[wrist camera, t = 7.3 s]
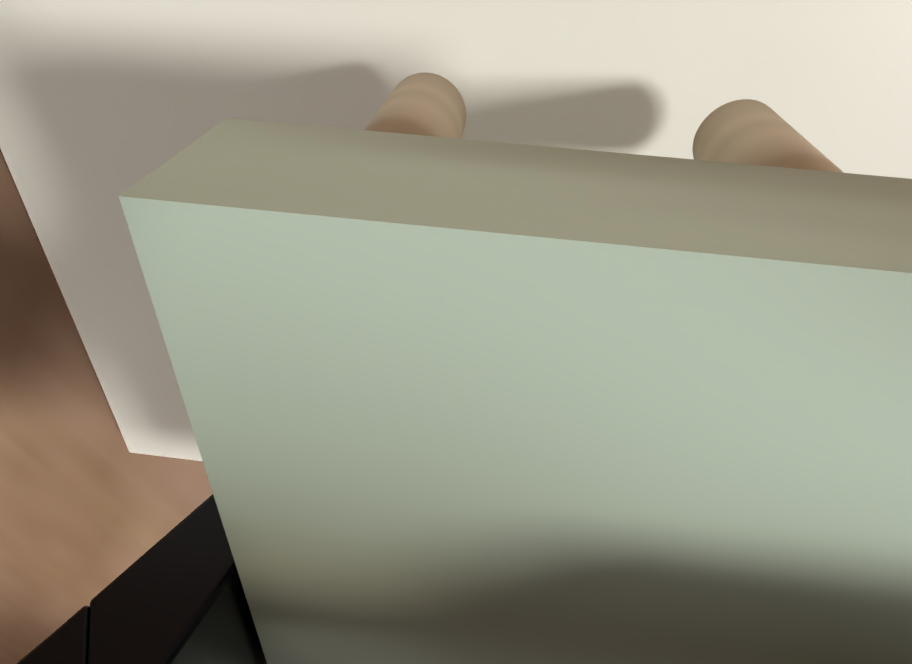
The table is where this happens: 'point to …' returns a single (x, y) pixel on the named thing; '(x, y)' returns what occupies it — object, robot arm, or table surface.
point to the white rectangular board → (367, 88)
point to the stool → (544, 389)
